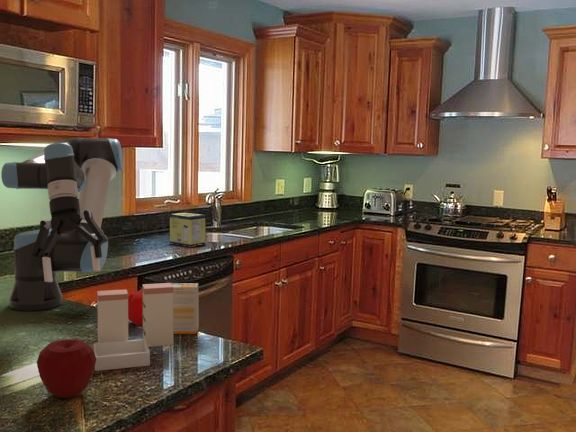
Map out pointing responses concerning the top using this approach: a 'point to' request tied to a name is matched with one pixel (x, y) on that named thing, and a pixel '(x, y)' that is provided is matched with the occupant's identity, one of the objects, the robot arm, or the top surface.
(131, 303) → the tomato
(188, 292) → the supplement box
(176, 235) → the protein box
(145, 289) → the block
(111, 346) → the tray
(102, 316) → the stub
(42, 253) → the robot arm
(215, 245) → the top surface
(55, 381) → the apple
